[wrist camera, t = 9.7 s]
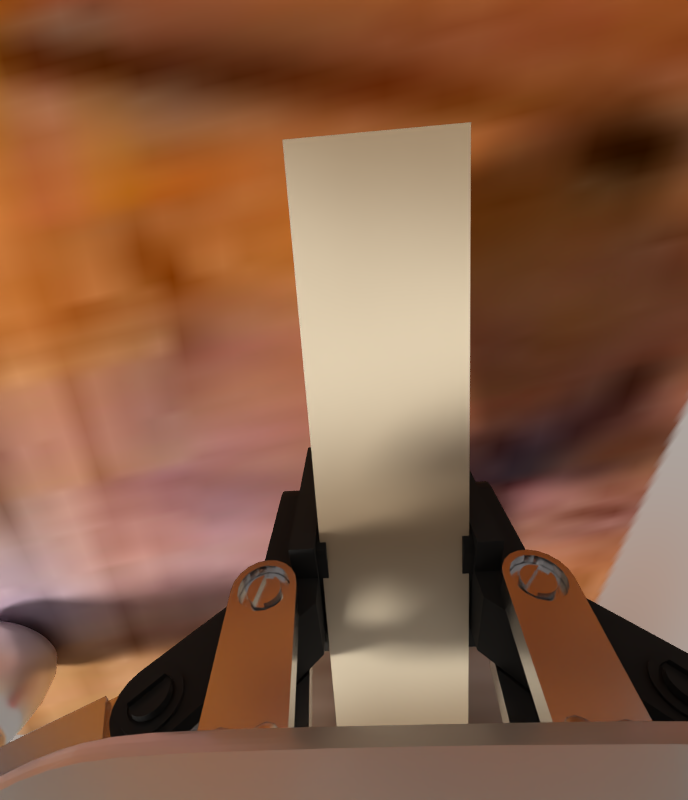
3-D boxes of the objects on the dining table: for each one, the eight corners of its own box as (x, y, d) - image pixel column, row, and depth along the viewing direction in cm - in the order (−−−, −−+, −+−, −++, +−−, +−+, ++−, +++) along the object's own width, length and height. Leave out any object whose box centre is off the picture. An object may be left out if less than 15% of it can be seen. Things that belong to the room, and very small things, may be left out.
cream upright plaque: (231, 227, 11) (132, 153, 6) (505, 205, 11) (634, 107, 6) (281, 629, 14) (242, 797, 9) (495, 622, 14) (574, 792, 9)
